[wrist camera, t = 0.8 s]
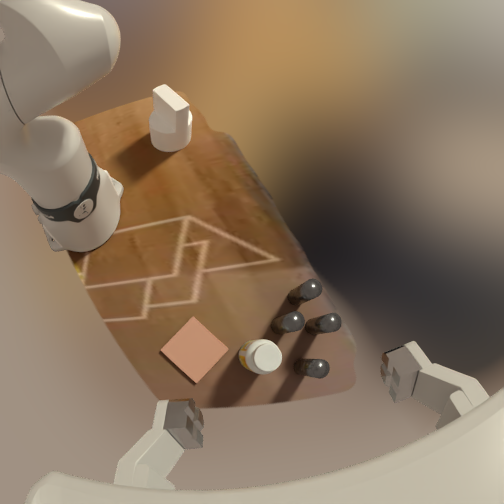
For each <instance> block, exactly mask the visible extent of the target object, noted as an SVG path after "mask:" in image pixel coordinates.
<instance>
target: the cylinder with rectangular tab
mask: <svg viewBox="0 0 504 504" xmlns="http://www.w3.org/2000/svg"><path fill="white" fill-rule="evenodd" d="M153 104H154V111H153V112H152V114H151V115H150V118H149V126H150V135H151V142H152V144H153V146H154V147H155V148H157V149H158V150H161V151H164V152H174V151H178V150H180V149H183V148H184V147H185V146H187V144H188V143H189V142H190V139H191V126H192V114H191V112H190V111H189V104H188V103H187V102H186V101H185V100H183V99H182V98H181V97H180V96H179V95H178V94H176V93H175V92H174V91H173V90H172V89H170V88H169V87H168V86H167V85H166V84H164V85H161V86H158V87H157V88H155V89H153Z"/></svg>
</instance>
